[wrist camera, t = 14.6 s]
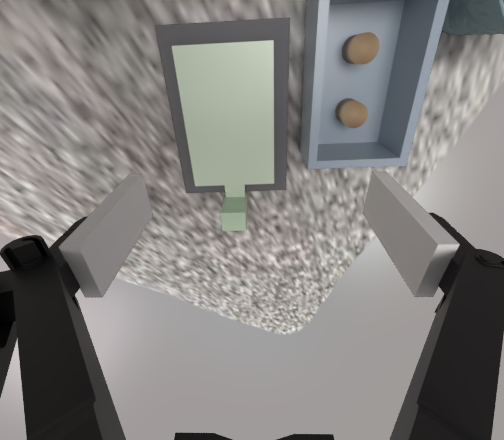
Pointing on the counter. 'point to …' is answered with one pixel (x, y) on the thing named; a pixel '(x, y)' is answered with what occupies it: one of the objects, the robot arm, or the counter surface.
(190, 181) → the mat
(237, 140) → the lid
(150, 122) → the counter surface
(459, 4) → the teal cup
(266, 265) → the counter surface
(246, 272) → the counter surface
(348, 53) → the dowel
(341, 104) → the dowel
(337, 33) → the tub
